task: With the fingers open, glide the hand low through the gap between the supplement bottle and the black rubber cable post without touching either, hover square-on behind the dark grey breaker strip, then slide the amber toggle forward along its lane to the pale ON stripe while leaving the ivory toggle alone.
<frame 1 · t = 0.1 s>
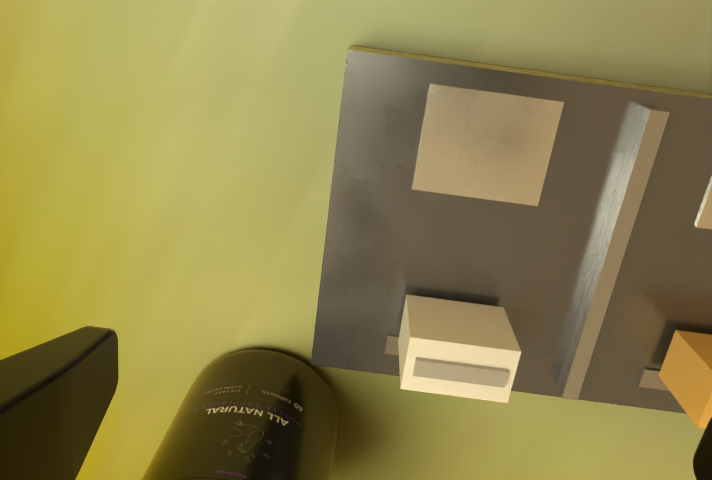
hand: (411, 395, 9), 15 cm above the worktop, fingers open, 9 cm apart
breaker panel: (585, 239, 23), on the worktop
supplement bottle: (263, 405, 27), on the worktop
ivory toggle: (454, 347, 21), point 4 cm above the worktop, slide at 0.0 cm
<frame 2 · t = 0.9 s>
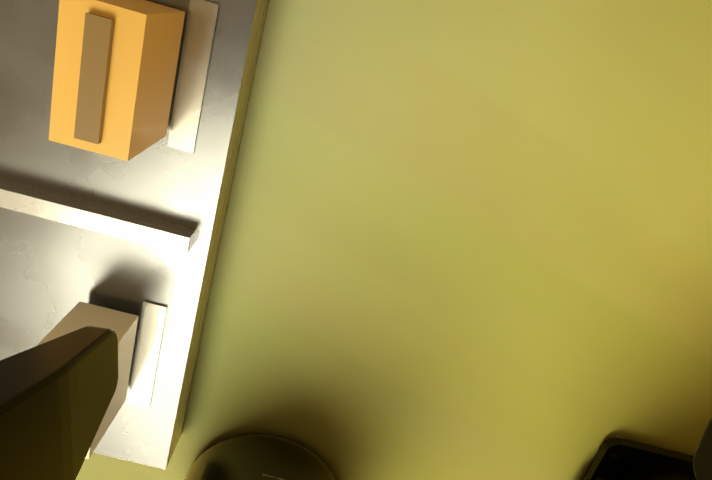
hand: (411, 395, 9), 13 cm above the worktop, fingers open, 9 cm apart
amber toggle: (118, 73, 16), point 4 cm above the worktop, slide at 0.0 cm
breaker panel: (57, 175, 21), on the worktop
ivory toggle: (82, 379, 19), point 4 cm above the worktop, slide at 0.0 cm
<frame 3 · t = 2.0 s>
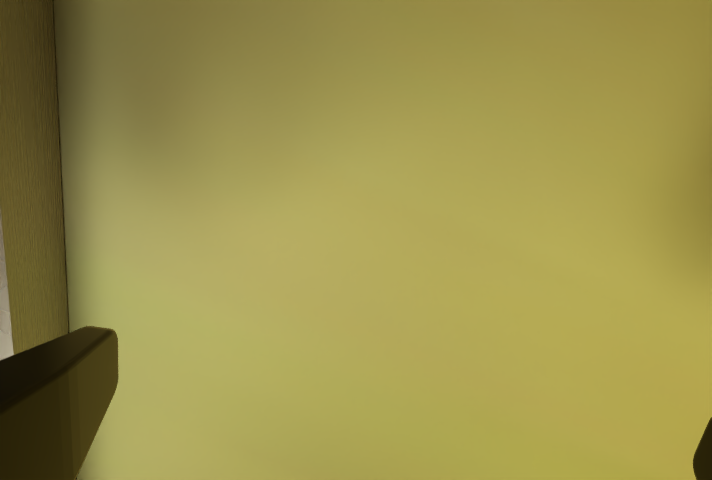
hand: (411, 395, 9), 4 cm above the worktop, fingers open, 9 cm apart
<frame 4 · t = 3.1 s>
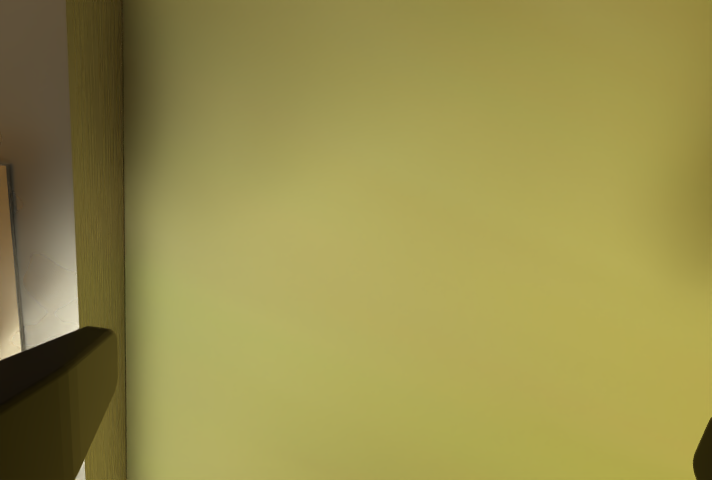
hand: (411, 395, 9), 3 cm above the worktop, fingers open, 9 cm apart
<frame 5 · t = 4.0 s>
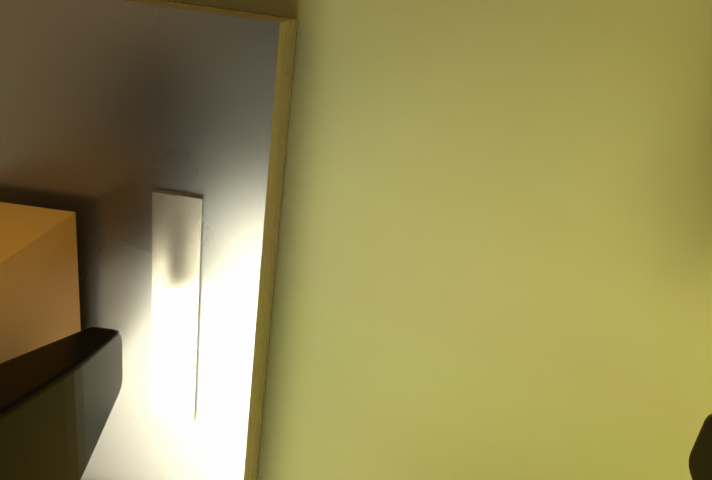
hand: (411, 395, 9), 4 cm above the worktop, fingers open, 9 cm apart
breaker panel: (5, 431, 14), on the worktop
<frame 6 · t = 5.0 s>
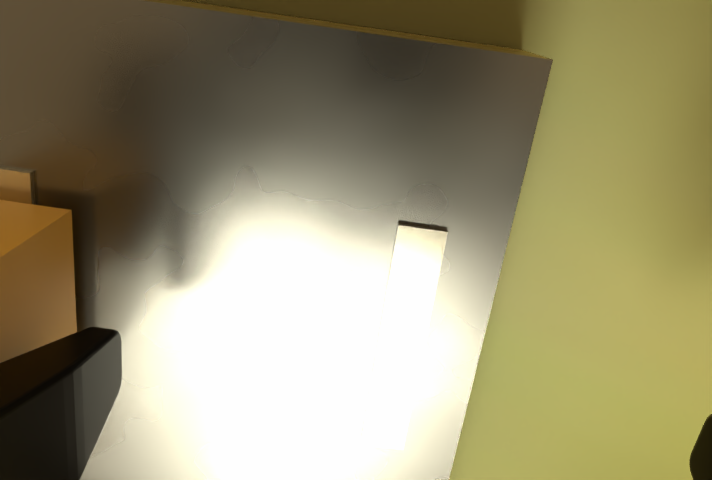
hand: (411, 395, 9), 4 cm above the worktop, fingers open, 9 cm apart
breaker panel: (170, 453, 14), on the worktop
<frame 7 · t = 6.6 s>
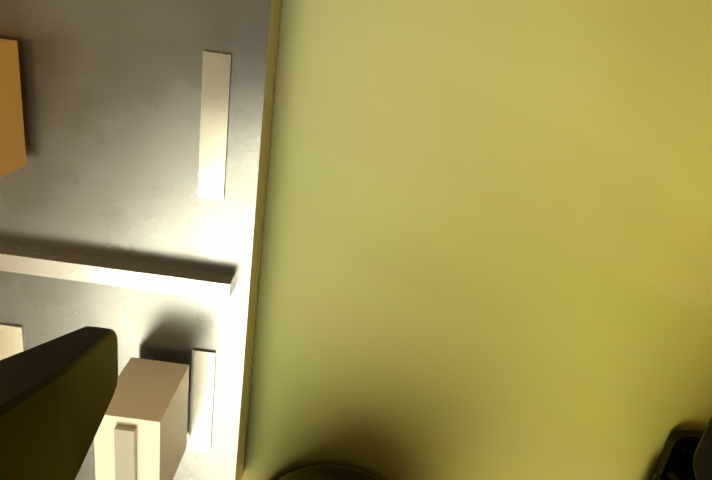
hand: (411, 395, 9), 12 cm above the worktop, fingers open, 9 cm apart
breaker panel: (94, 236, 22), on the worktop
ivory toggle: (143, 434, 20), point 4 cm above the worktop, slide at 0.0 cm
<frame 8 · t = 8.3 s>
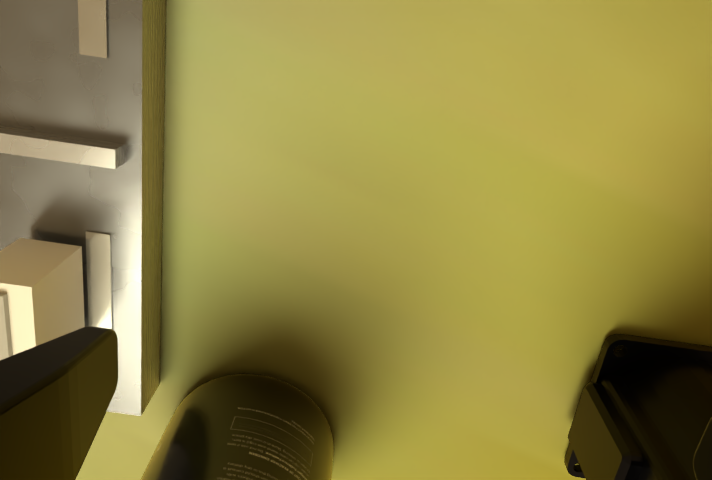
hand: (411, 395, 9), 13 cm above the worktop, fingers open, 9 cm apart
supplement bottle: (255, 433, 25), on the worktop
ivory toggle: (27, 314, 19), point 4 cm above the worktop, slide at 0.0 cm
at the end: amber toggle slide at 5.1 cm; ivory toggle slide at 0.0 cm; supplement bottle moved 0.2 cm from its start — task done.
